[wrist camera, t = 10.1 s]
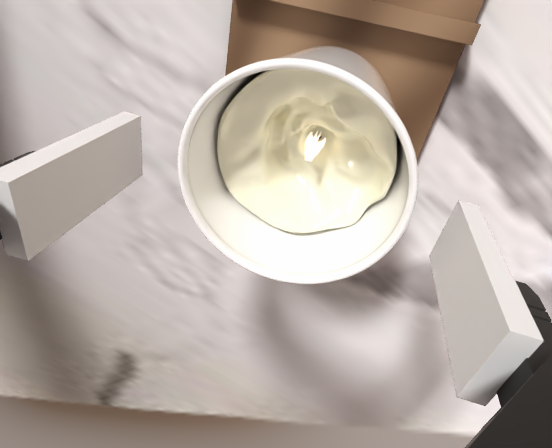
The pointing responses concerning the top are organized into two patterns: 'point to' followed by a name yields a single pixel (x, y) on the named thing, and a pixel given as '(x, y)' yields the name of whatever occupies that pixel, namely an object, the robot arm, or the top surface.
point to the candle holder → (300, 166)
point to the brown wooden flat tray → (366, 43)
